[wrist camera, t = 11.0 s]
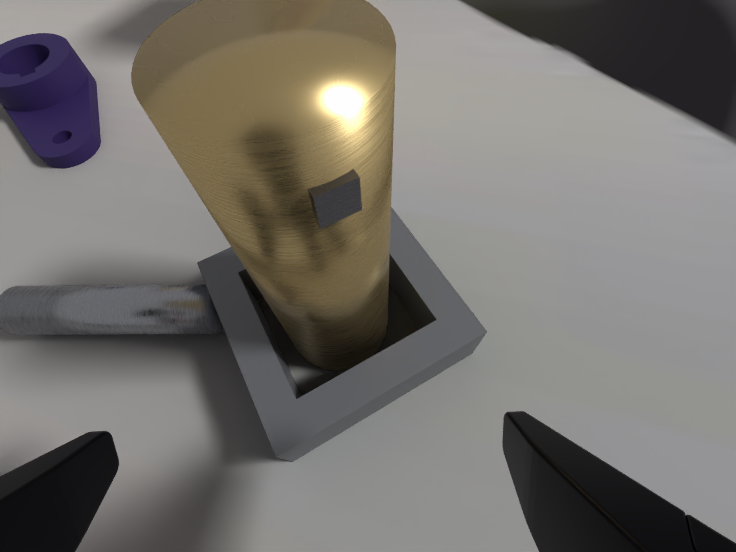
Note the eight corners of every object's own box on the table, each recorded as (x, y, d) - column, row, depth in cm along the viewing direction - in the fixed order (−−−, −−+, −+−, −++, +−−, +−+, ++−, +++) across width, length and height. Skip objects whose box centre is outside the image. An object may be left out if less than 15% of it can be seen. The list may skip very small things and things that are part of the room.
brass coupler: (408, 342, 19) (455, 79, 7) (318, 393, 18) (176, 194, 6) (356, 261, 21) (320, -42, 9) (273, 303, 20) (105, 23, 8)
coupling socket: (472, 353, 19) (487, 331, 16) (292, 461, 16) (275, 457, 14) (373, 217, 23) (372, 182, 20) (220, 290, 21) (197, 262, 18)
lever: (8, 91, 30) (-30, 52, 27) (88, 64, 32) (60, 23, 29) (32, 187, 25) (-11, 151, 22) (127, 149, 27) (97, 110, 24)
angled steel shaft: (231, 297, 20) (214, 275, 18) (222, 340, 19) (203, 322, 17) (47, 298, 20) (9, 277, 18) (28, 341, 19) (-16, 323, 17)
